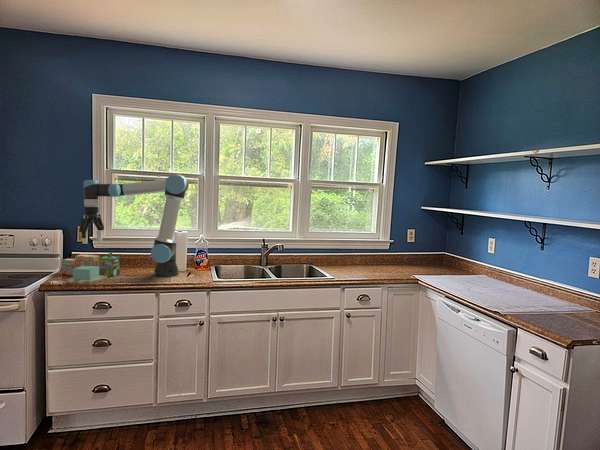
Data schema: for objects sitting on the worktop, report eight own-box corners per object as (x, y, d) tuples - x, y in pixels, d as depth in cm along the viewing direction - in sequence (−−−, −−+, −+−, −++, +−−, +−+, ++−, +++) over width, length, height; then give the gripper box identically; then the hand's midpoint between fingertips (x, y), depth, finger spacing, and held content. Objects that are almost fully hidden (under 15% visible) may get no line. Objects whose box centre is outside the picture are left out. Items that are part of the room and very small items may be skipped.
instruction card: (69, 282, 230) (69, 281, 230) (60, 284, 223) (60, 284, 223) (53, 281, 231) (53, 280, 231) (44, 283, 224) (44, 283, 224)
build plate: (107, 278, 242) (107, 275, 242) (89, 283, 226) (89, 281, 226) (83, 276, 244) (83, 274, 244) (64, 282, 228) (64, 279, 228)
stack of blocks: (61, 274, 250) (61, 255, 249) (68, 272, 256) (68, 253, 255) (93, 276, 247) (93, 256, 246) (99, 274, 254) (99, 255, 253)
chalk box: (105, 273, 255) (105, 250, 254) (120, 274, 255) (120, 251, 254) (98, 276, 246) (98, 252, 245) (112, 277, 246) (112, 253, 245)
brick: (99, 276, 240) (99, 266, 239) (89, 279, 230) (89, 269, 230) (82, 275, 240) (82, 265, 240) (72, 279, 230) (72, 268, 230)
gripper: (98, 205, 248) (99, 239, 250) (71, 207, 224) (72, 244, 225) (109, 206, 247) (110, 240, 249) (83, 207, 223) (84, 245, 224)
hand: (92, 242), depth 237 cm, fingers open, 13 cm apart
